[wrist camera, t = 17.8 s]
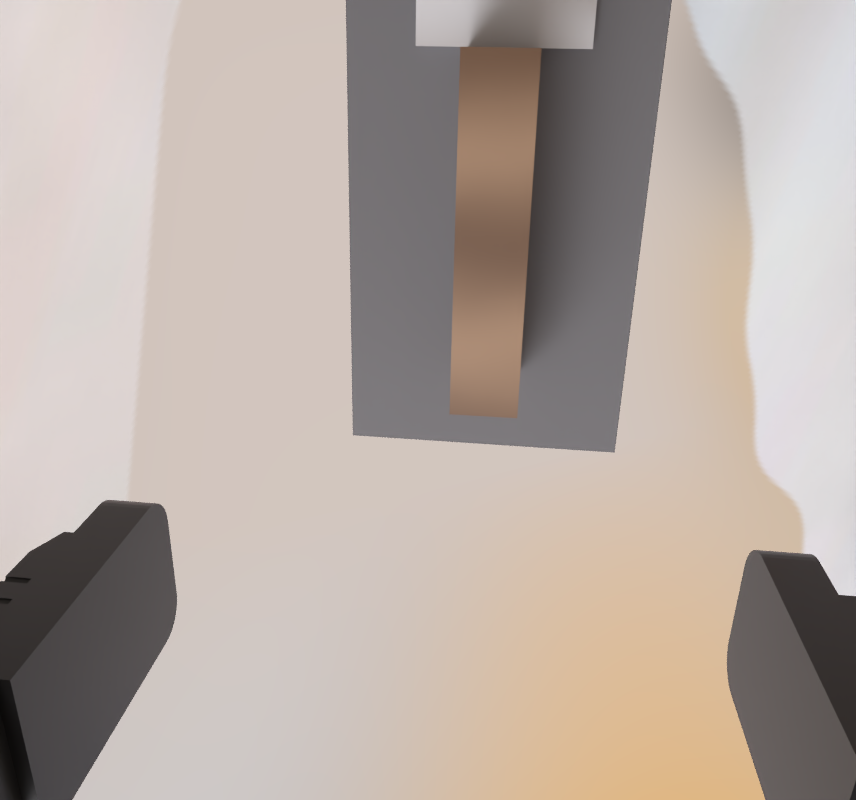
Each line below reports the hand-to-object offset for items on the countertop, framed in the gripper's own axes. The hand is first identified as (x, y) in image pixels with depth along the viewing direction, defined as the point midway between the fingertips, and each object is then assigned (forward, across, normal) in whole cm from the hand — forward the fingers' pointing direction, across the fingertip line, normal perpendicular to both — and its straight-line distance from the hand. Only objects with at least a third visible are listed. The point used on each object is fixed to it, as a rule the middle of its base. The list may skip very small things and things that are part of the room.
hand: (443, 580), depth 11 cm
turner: (+22, 0, -5) cm, 22 cm away
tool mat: (+22, 0, -2) cm, 22 cm away
